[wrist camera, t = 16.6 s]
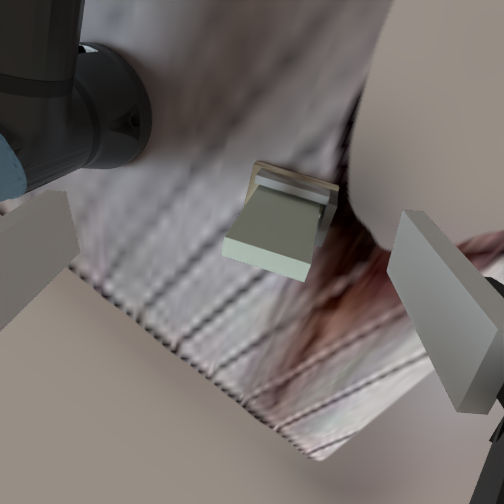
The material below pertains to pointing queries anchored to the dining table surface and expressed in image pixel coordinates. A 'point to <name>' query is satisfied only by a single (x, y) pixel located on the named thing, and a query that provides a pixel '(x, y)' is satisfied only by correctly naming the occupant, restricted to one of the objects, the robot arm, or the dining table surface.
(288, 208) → the flat rectangular panel
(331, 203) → the cradle
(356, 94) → the dining table surface
